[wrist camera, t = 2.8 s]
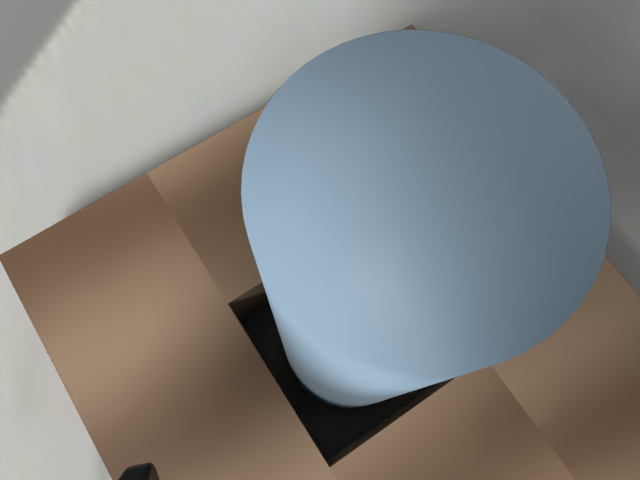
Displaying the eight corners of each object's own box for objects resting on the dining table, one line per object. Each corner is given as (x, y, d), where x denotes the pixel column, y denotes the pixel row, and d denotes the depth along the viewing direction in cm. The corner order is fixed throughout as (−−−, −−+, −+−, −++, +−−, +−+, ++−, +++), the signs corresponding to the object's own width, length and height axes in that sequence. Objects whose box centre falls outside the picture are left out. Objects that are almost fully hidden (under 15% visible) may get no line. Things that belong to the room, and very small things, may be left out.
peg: (435, 361, 20) (689, 235, 7) (331, 434, 19) (382, 457, 6) (364, 260, 21) (459, -23, 8) (262, 325, 20) (172, 135, 7)
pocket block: (671, 410, 20) (733, 407, 17) (276, 725, 17) (270, 787, 14) (398, 73, 24) (411, 24, 21) (40, 279, 21) (-2, 256, 18)
